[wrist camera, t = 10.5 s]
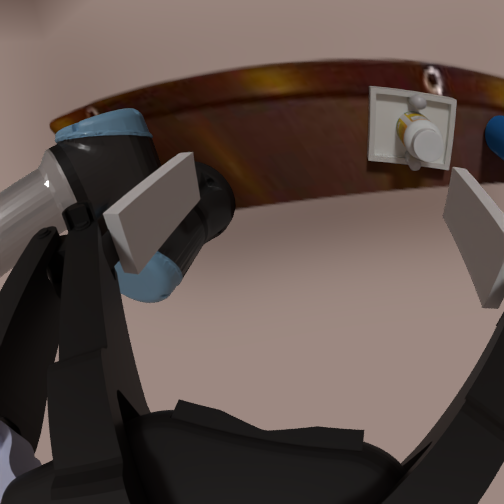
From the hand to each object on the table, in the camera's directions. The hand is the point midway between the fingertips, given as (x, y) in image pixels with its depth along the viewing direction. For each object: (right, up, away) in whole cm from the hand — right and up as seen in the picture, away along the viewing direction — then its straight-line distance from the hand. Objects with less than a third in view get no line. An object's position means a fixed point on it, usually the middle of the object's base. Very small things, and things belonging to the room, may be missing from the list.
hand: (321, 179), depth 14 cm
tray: (+20, +15, +24) cm, 35 cm away
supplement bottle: (+20, +15, +24) cm, 34 cm away
